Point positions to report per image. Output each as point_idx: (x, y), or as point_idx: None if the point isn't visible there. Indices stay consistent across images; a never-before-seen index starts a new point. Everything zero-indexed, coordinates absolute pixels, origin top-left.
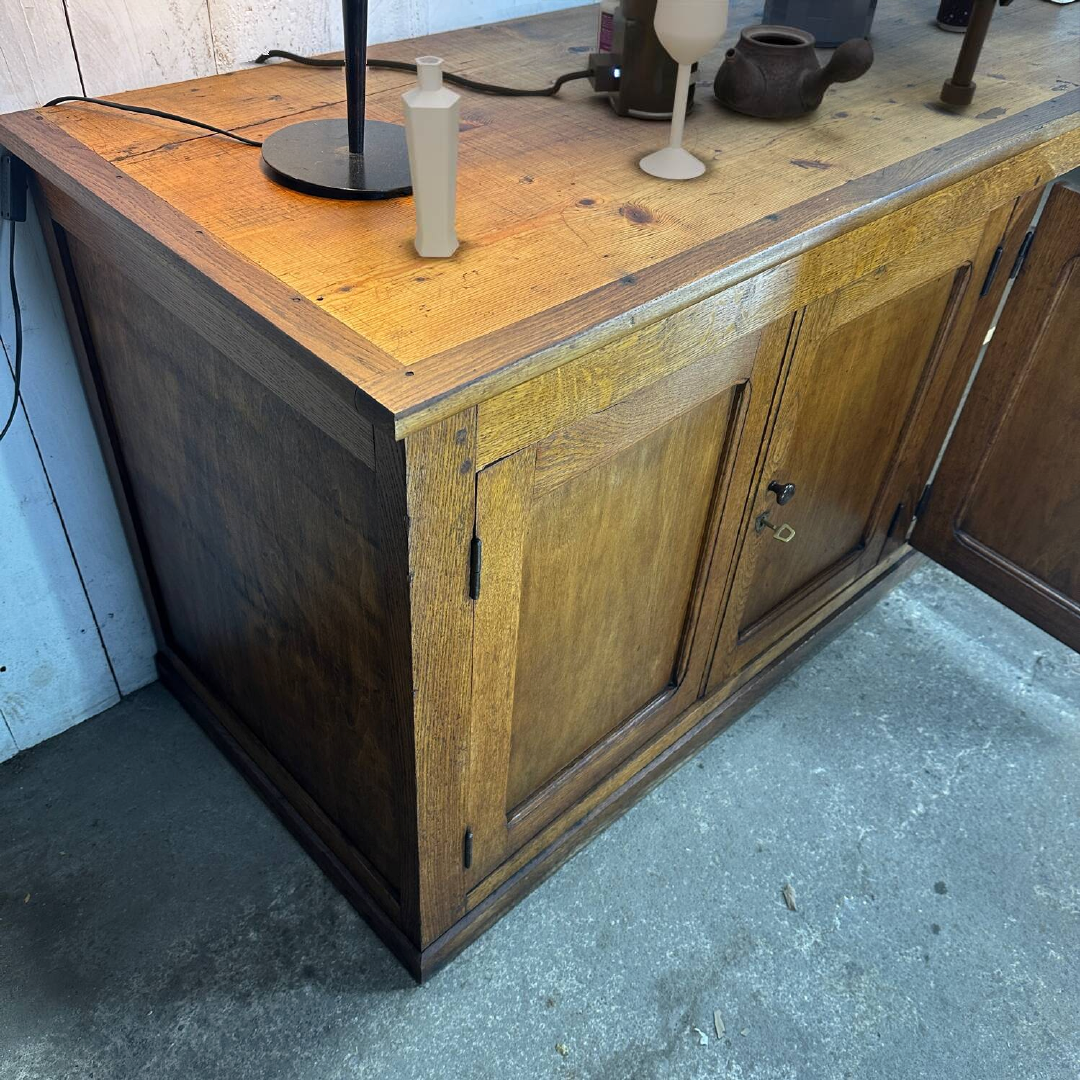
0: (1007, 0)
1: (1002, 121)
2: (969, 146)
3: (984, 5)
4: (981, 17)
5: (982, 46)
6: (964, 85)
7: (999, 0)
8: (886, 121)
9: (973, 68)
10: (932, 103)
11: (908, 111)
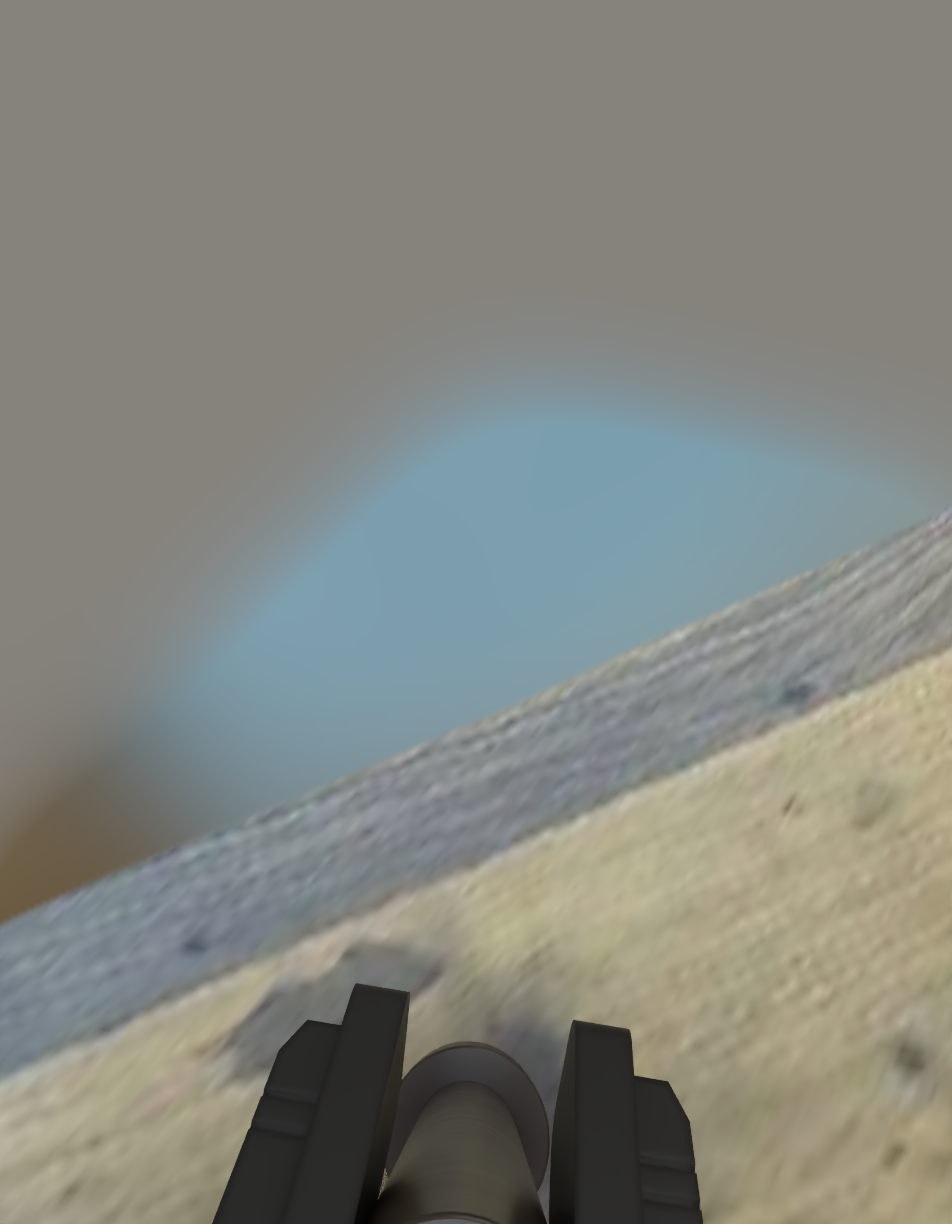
0: (406, 1024)
1: (348, 906)
2: (655, 696)
3: (557, 1101)
4: (508, 1140)
5: (423, 1117)
6: (478, 1082)
7: (388, 1148)
8: (875, 1021)
9: (454, 1089)
10: None
11: (711, 1128)
